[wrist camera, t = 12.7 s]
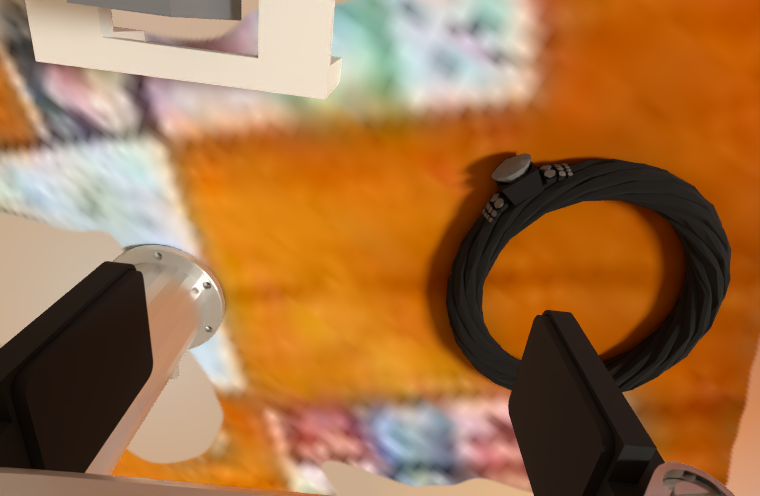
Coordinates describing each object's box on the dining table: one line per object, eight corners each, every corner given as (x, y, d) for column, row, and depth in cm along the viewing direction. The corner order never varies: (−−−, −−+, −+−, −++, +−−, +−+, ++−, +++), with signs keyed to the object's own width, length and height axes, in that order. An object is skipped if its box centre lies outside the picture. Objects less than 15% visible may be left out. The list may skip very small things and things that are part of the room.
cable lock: (525, 444, 54) (379, 250, 43) (517, 419, 57) (380, 233, 47) (776, 337, 47) (674, 72, 36) (750, 315, 50) (650, 68, 40)
